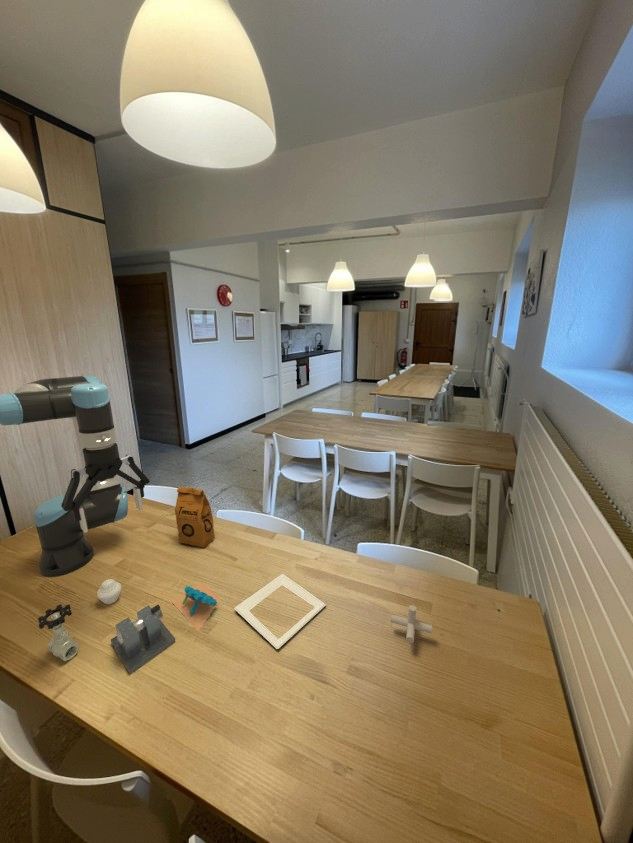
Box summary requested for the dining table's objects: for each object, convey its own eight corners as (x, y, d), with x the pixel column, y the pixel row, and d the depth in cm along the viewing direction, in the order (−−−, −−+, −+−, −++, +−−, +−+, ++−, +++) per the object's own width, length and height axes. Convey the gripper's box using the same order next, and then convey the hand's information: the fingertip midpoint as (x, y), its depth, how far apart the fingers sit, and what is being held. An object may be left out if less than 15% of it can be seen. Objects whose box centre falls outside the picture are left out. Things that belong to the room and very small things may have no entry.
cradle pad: (171, 602, 97) (171, 601, 97) (202, 583, 105) (202, 582, 104) (198, 631, 88) (198, 630, 88) (230, 608, 95) (230, 607, 95)
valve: (57, 671, 78) (46, 630, 74) (42, 659, 80) (30, 620, 77) (86, 647, 83) (77, 609, 80) (71, 637, 86) (61, 600, 83)
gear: (224, 602, 96) (202, 597, 88) (214, 624, 93) (190, 620, 86) (200, 586, 102) (177, 580, 94) (189, 606, 99) (165, 601, 92)
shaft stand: (111, 644, 84) (105, 618, 82) (155, 616, 92) (151, 592, 90) (130, 675, 77) (124, 647, 75) (175, 642, 85) (171, 616, 83)
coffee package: (202, 552, 119) (196, 497, 113) (175, 544, 123) (168, 491, 117) (219, 536, 128) (214, 485, 122) (193, 530, 132) (187, 480, 126)
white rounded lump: (95, 610, 95) (90, 590, 93) (103, 594, 100) (99, 574, 98) (119, 606, 96) (115, 586, 94) (126, 590, 102) (122, 571, 100)
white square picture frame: (326, 609, 95) (326, 603, 95) (277, 655, 82) (277, 648, 81) (282, 578, 107) (282, 572, 107) (233, 613, 94) (233, 607, 93)
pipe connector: (430, 628, 89) (433, 598, 86) (429, 662, 80) (433, 630, 77) (392, 618, 92) (394, 588, 89) (387, 650, 83) (390, 618, 80)
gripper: (41, 464, 72) (61, 546, 78) (156, 436, 90) (165, 505, 96) (33, 455, 77) (53, 534, 83) (144, 430, 95) (153, 496, 101)
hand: (113, 518), depth 89 cm, fingers open, 13 cm apart
